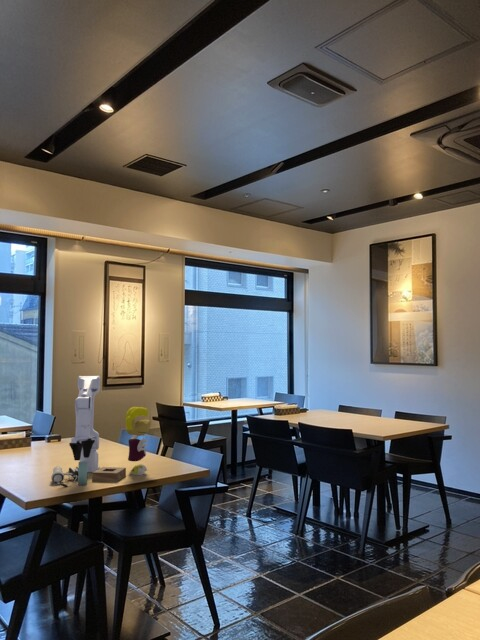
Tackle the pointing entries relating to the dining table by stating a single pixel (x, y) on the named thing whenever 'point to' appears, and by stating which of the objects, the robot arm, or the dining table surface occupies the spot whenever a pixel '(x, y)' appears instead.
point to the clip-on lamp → (59, 475)
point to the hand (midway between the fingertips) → (81, 458)
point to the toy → (136, 429)
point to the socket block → (109, 474)
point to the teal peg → (82, 473)
